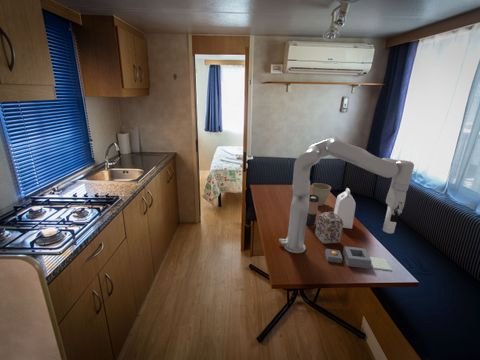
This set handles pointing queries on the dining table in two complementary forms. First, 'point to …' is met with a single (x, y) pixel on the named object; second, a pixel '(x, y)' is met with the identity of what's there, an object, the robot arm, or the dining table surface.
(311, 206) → the travel mug
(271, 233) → the dining table surface
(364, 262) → the grey square holder
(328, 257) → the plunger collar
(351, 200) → the milk
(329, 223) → the decorative jar
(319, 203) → the plant pot
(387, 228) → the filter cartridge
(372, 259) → the mat
